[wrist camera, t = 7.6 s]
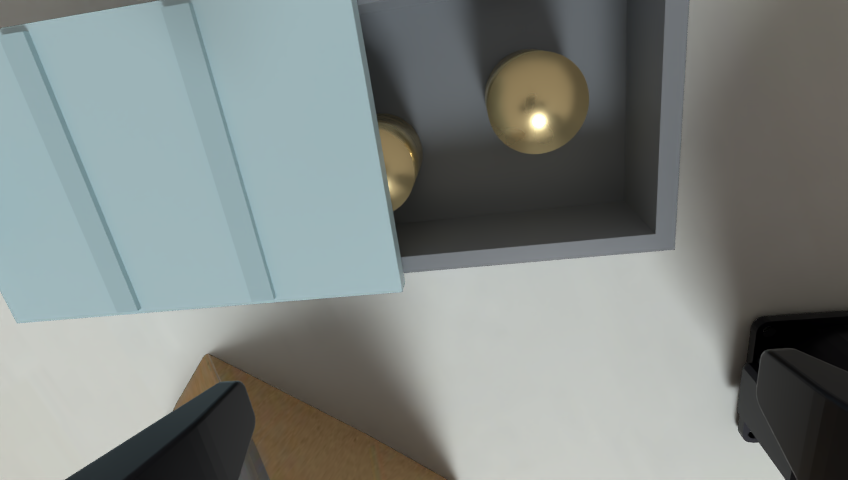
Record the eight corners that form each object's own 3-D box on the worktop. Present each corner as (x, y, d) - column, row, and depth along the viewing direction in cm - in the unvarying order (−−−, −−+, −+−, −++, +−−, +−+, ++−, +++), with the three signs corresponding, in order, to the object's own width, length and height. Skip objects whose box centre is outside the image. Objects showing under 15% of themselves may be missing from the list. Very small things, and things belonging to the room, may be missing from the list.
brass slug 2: (569, 42, 17) (588, 43, 14) (571, 130, 18) (589, 148, 15) (480, 55, 17) (483, 59, 14) (488, 141, 18) (491, 159, 15)
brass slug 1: (416, 108, 18) (406, 121, 15) (427, 186, 19) (420, 211, 16) (338, 118, 18) (314, 133, 15) (353, 194, 19) (334, 220, 17)
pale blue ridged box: (351, -29, 13) (292, -63, 9) (405, 282, 16) (382, 368, 12) (-133, 55, 15) (-376, 62, 11) (5, 315, 19) (-137, 399, 14)
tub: (641, -51, 16) (693, -78, 12) (635, 209, 19) (674, 249, 15) (241, 16, 18) (181, 10, 14) (298, 242, 21) (262, 285, 17)
